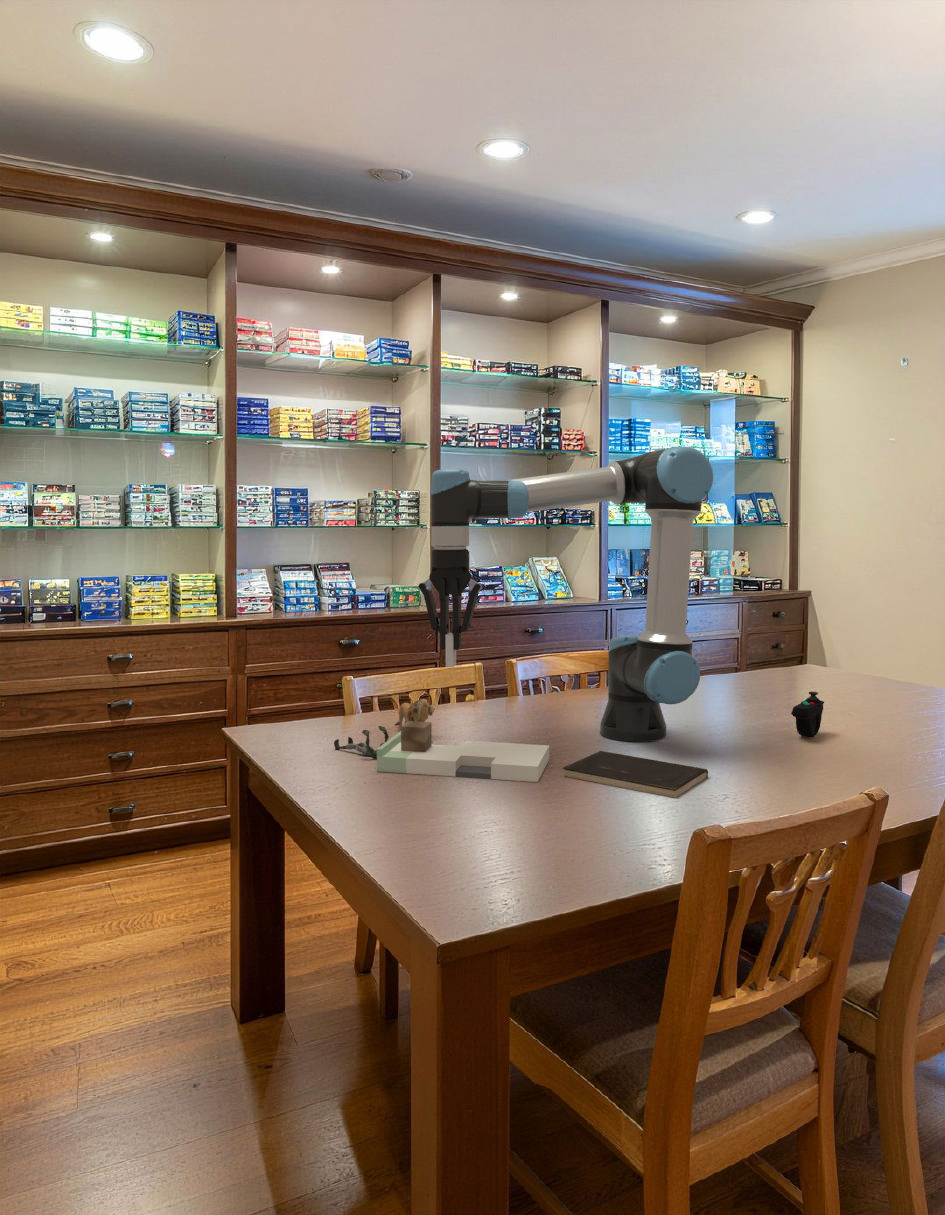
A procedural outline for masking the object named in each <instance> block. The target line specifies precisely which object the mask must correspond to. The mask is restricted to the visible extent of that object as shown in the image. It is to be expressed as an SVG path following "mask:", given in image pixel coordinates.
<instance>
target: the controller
mask: <svg viewBox="0 0 945 1215" xmlns="http://www.w3.org/2000/svg"><path fill="white" fill-rule="evenodd" d="M808 695H810V696H808V697H806V699H805V700H802V701H801V702H800V703H799V704H796V705H795V706H793V707H792V710H791V713H790V714H791V715H792V717H794V718H795V725H796V726H795V727H796V731H797V733H798V734H799V736H801V737H803V738H810V739H811V738H814V737H816V736H817V735H818V733H819V730H820V728H821V723H822V716H823V712H824V703H825V701H824V700H820V699H819V697H817V695H819V692H818V691H808Z"/></svg>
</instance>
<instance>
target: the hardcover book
mask: <svg viewBox="0 0 945 1215" xmlns="http://www.w3.org/2000/svg"><path fill="white" fill-rule="evenodd" d="M562 770H564V776H565V777H568V778H573V779H577V780H582V781H589V782H593V783H598V784H602V785H608V786H613V787H619V788H623V789H629V790H634V791H639V792H643V793H648V794H654V795H658V794H659V796H663V795H664V797H670V798H676V797H678V796H679V794H680V795H681V794H682V793H684V792H686V791H687V790H689V789H690V788H689V787H691V788H692V787H694V786H695V785H697V784H699V783H700V782H701V780H702V781H703V780H705V779H707V777H708V778H709V770H708V769H707V768H703V767H702V768H701V767H697V766H692V765H691V766H690V765H687V764H686V765H685V764H680V763H674V762H667V761H662V760H656V759H651V758H644V757H641V756H640V757H638V756H633V755H632V756H631V755H627V754H623V753H622V754H621V753H618V752H617V753H616V752H610V751H604V750H598V751H597V752H594V753H593V754H590V755H588V756H585V757H584V758H582V759H579V760H577V761H575V762H573V763H569V764H568V765H565V766H564V767H562ZM699 781H700V782H699ZM688 788H689V789H688Z"/></svg>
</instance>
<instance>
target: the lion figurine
mask: <svg viewBox="0 0 945 1215" xmlns="http://www.w3.org/2000/svg"><path fill="white" fill-rule="evenodd" d="M435 710H436V708H434V707H433V706H432V705H430V704H429V703H428V699H425V698H420V699H417V700H416V701H414V702H412V703H409V702H403V703H402V704H400V706H399V710H398V722H396V723H395V724H394V726H395V727H396V726H398V730H397V733H399V732H400V731H401V726H402V725H403V720H404V724H405V723H406V722H408V721H417V722H426V721H427V720H428V719H429V716H430V717H432V716H433V713H434V712H435Z"/></svg>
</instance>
